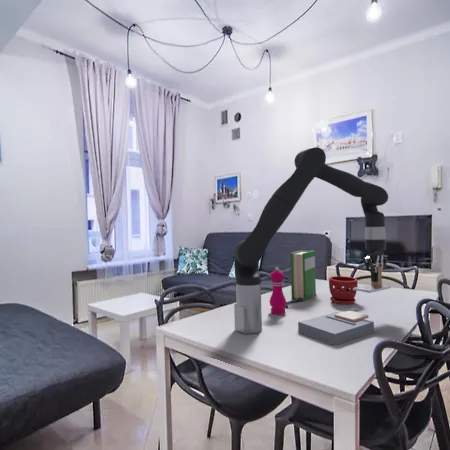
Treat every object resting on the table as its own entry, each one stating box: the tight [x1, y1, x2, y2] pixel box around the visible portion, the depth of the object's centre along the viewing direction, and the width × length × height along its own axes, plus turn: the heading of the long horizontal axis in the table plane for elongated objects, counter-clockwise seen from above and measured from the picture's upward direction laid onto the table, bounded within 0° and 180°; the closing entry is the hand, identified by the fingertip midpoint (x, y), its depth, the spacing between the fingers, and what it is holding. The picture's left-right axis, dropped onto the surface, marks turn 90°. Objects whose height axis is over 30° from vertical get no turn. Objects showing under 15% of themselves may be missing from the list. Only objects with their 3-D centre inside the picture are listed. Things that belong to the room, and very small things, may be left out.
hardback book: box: [290, 249, 317, 302], centre depth 169 cm, size 18×7×24 cm, turn 148°
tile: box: [335, 310, 369, 322], centre depth 118 cm, size 9×8×1 cm
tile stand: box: [297, 311, 375, 346], centre depth 113 cm, size 21×16×4 cm
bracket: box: [284, 298, 304, 309], centre depth 156 cm, size 14×15×3 cm
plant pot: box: [328, 275, 358, 306], centre depth 154 cm, size 13×13×12 cm
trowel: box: [353, 266, 392, 294], centre depth 125 cm, size 14×7×9 cm, turn 122°
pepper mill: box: [269, 266, 287, 315], centre depth 139 cm, size 7×7×20 cm
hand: (376, 281), depth 127 cm, fingers closed on trowel, 2 cm apart
